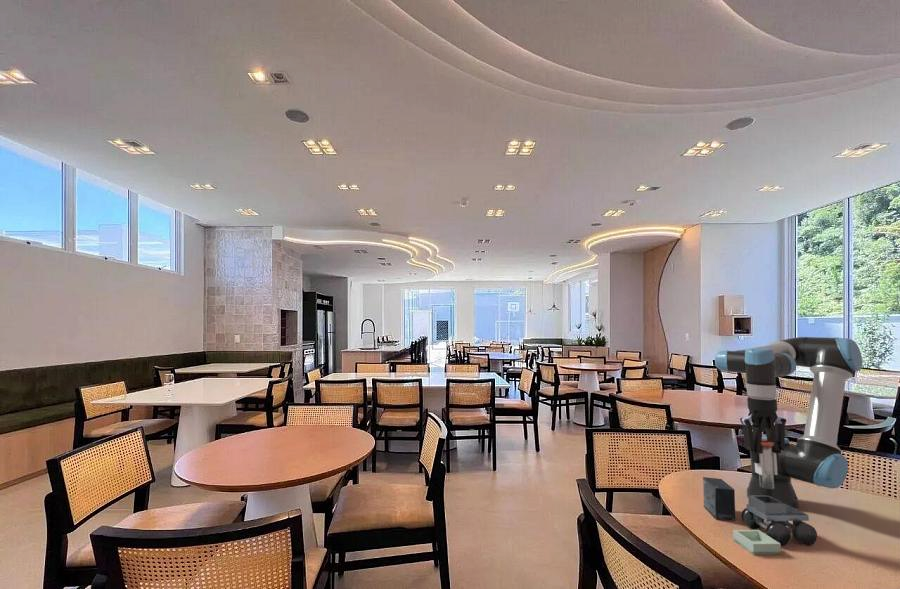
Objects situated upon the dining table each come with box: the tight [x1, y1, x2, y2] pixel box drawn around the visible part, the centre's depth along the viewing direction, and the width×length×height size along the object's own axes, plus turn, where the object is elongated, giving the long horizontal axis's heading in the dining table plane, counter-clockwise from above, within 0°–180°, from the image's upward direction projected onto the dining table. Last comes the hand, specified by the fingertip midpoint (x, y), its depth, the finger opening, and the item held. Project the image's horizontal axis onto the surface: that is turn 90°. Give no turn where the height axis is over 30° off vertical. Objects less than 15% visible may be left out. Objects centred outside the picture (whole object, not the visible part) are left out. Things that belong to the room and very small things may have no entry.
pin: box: [759, 439, 774, 489], centre depth 129 cm, size 5×5×14 cm
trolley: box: [740, 495, 818, 547], centre depth 128 cm, size 14×12×11 cm
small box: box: [702, 476, 737, 522], centre depth 143 cm, size 11×6×10 cm, turn 168°
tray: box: [732, 529, 782, 556], centre depth 121 cm, size 8×8×3 cm
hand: (766, 473), depth 129 cm, fingers closed on pin, 3 cm apart
